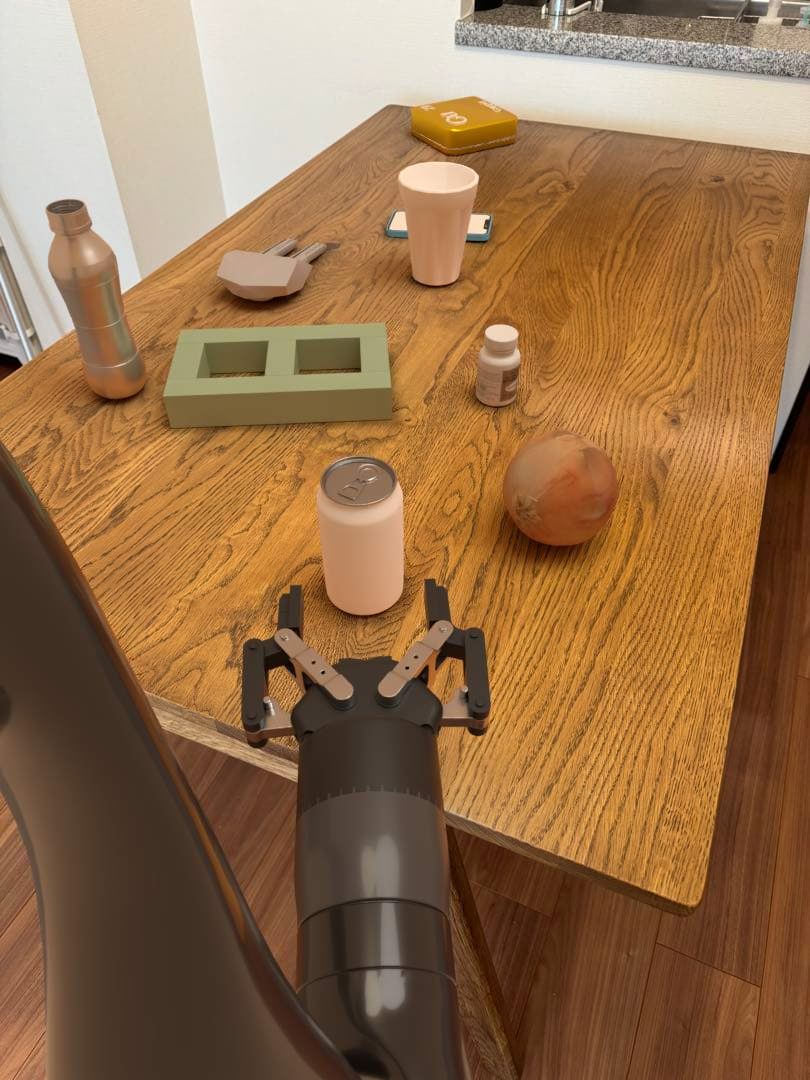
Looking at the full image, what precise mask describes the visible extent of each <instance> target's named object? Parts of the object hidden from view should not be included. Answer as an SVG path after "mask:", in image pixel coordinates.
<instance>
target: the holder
mask: <svg viewBox="0 0 810 1080" xmlns="http://www.w3.org/2000/svg"><path fill="white" fill-rule="evenodd" d="M176 341H177V342H176V346H175V348H174V353H173V356H172V360H171V364H170V367H169V372H168V375H167V378H166V382H165V386H164V390H163V393H162V400H163V403H164V407H165V411H166V415H167V419H168V423H169V426H170V428H171V429H187V428H210V427H211V428H212V427H213V428H214V427H235V426H236V427H237V426H260V425H283V424H285V425H286V424H288V425H289V424H309V423H335V422H338V423H339V422H358V421H359V422H361V421H382V420H383V421H386V420H387V421H388V420H393V399H392V398H393V397H392V395H393V394H392V390H393V389H392V377H391V368H390V367H391V366H390V358H389V357H390V356H389V346H388V335H387V323H386V322H367V323H366V322H365V323H364V322H363V323H335V324H308V325H307V324H306V325H304V324H303V325H280V326H275V325H274V326H251V327H250V326H249V327H248V326H247V327H223V328H222V327H219V328H193V329H192V328H191V329H190V328H189V329H180V331H179V335H178V338H177V340H176ZM342 369H343V370H345V369H346V370H347V369H360V372H339V373H338V372H337V373H336V372H335V373H310V374H308V373H307V374H300V372H301V371H317V370H342ZM260 372H261V373H263V372H264V375H258V376H256V375H255V376H229V377H211V375H212V374H239V373H241V374H242V373H260Z"/></svg>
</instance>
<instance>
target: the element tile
mask: <svg viewBox="0 0 810 1080" xmlns="http://www.w3.org/2000/svg"><path fill="white" fill-rule="evenodd" d="M410 118H411V119H410V132H411V135H412V136H413V137H415V138H417V139H419V140H421V141H422V142H423V143H425V144H428V145H429V146H431V147H432V148H434V149H436V150H438V151H439V152H441V153H442V154H445V155H446V156H455V157H456V156H463V155H466V154H471V153H478V152H481V151H486V150H490V149H495V148H500V147H504V146H509V145H512V144H514V143H515V142H516V139H517V136H516V137H515V138H513V139H509V140H505V141H500V142H495V143H491V144H486V145H481V146H477V147H472V148H467V149H462V150H447V149H444V148H442V147H441V146H439V145H437V144H435V143H434V142H432V141H430V140H428V139H427V138H429V139H431V140H433V141H435V142H437V143H439V144H441V145H442V146H444V147H447V148H453V149H454V148H462V147H467V146H471V145H477V144H481V143H485V142H489V141H493V140H497V139H501V138H504V137H508V136H512V135H515V134H516V135H517V130H518V120H519V117H518V116H517V115H516V114H514V113H513V112H511V111H508V110H506V109H504V108H502V107H500V106H498V105H496V104H493V103H492V102H490V101H487V100H486V99H483V98H481V97H479V96H476V95H470V96H465V97H460V98H454V99H448V100H443V101H439V102H438V101H437V102H433V103H427V104H422V105H416V106H413V107H412V108H411V111H410ZM411 128H412V129H411ZM413 130H414V131H416V132H417V133H416V132H414V131H413ZM418 133H419V134H418ZM420 134H422V135H424V136H425V137H427V138H425V137H423V136H421V135H420Z"/></svg>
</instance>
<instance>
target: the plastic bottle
mask: <svg viewBox="0 0 810 1080" xmlns="http://www.w3.org/2000/svg"><path fill="white" fill-rule="evenodd" d="M44 210H45V214H46V217H47V220H48V226H49V229H50V231H51V232H52V233H53V234H54V236H53V239H52V240H51V244H50V247H49V250H48V255H47V267H48V270H49V273H50V276H51V278H52V279H53V282H54V284H55V286H56V288H57V290H58V292H59V294H60V296H61V298H62V300H63V302H64V304H65V306H66V309H67V312H68V314H69V316H70V318H71V322H72V324H73V327H74V329H75V334H76V338H77V342H78V346H79V350H80V355H81V356H80V359H81V360H80V361H81V368H82V373H83V377H84V379H85V381H86V382H87V384H88V387H89V388H90V389H91V391H93V392H94V393H95V394H97V395H98V396H100V397H102V398H104V399H109V400H120V399H125V398H128V397H129V398H130V397H132V396H134V395H136V394H138V393H139V392H140V391H141V390H142V389H143V387H144V385H145V384H146V381H147V378H148V377H147V376H148V375H147V363H146V361H145V359H144V356H143V354H142V351H141V349H140V348H139V346H138V345H137V343H136V340H135V337H134V334H133V332H132V329H131V327H130V324H129V321H128V318H127V312H126V310H125V304H124V299H123V295H122V288H121V279H120V271H119V263H118V258H117V256H116V254H115V251H114V250H113V248H112V247H111V246H110V245H109V244H108V243H107V242H106V241H105V239H103V238H102V237H101V236H100V235H99V234H98V233H96V232H95V231H94V230H93V229H92V226H93V221H92V218H91V217H90V215H89V211H88V208H87V205H86V203H85V201H83V200H81V199H76V198H65V199H59V200H54V201H52V202H50V203H48V204H47V205H45V209H44Z"/></svg>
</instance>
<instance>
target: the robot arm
mask: <svg viewBox="0 0 810 1080" xmlns="http://www.w3.org/2000/svg"><path fill="white" fill-rule="evenodd" d="M423 599H424V600H423V602H424V603H423V604H424V612H425V613H424V614H425V622H426V632H427V633H426V634H425V635H423V637H422V638H421V640H420V641H419V640H416V641H415V642H414V643H413V645H412V646H411V647H410V648H409V650H408V651H407V652H405V654H404V655H403V657H402V658H401V659H400V661H398V660H396V659H393V656H392V655H382V656H376V657H372V658H368V659H360V658H354V657H344V658H338V662H335V663H333V664H330V663H329V662H328V661H327V660H326V659H325V658H324V657H323V656H322V655H321V654H320V653H319V652H318V651H317V650H316V649H315V648H314V646H308V645H307V644H306V643H305V642H304V628H305V627H304V626H305V598H304V592H303V585H302V584H290V585H289V592H288V593H285V592H284V593H282V594H281V596H280V598H279V599H278V608H277V609H278V611H277V625H276V631H275V633H274V634H273V635H272V636H270V637H269V638H265V639H264V640H261V639H260V638H257V637H253V638H249V639H247V640H246V641H245V642H244V643H243V645H242V667H241V668H242V670H241V671H242V672H241V699H240V700H241V702H240V703H241V705H240V720H241V724H242V726H243V727H242V728H243V731H244V734H245V738H246V741H247V744H248V746H249V747H250V748H252V749H255V750H257V749H262V748H264V747H265V746H266V745H267V744H268V743H269V740H270V739H276V738H284V737H294V738H295V740H296V741H297V744H298V758H297V759H298V760H297V784H296V811H295V834H294V835H295V838H294V839H295V840H294V863H293V887H294V889H293V890H294V898H295V909H296V921H297V922H296V925H297V926H296V930H297V933H296V961H295V985H294V987H295V989H294V987H293V986H292V985H291V983H290V981H289V980H288V978H287V977H286V975H285V973H284V972H283V970H282V968H281V967H280V965H279V964H278V961H277V960H276V959H275V956H274V953H273V952H272V950H271V948H270V947H269V944H268V943H267V940H266V939H265V937H264V935H263V933H262V931H261V929H260V927H259V925H258V923H257V921H256V918H255V916H254V914H253V912H252V910H251V908H250V906H249V904H248V901H247V899H246V896H245V894H244V892H243V890H242V888H241V886H240V884H239V881H238V880H237V878H236V875H235V873H234V871H233V869H232V866H231V864H230V862H229V860H228V858H227V856H226V854H225V852H224V850H223V847H222V846H221V844H220V841H219V840H218V837H217V835H216V833H215V831H214V829H213V827H212V824H211V823H210V821H209V818H208V816H207V814H206V812H205V810H204V808H203V806H202V804H201V802H200V800H199V798H198V795H197V793H196V791H195V789H194V787H193V785H192V782H191V781H190V779H189V777H188V775H187V773H186V771H185V769H184V767H183V765H182V763H181V762H180V759H179V757H178V755H177V753H176V752H175V750H174V747H173V746H172V744H171V742H170V740H169V738H168V736H167V734H166V732H165V730H164V729H163V726H162V725H161V722H160V720H159V719H158V718H159V717H158V716H157V715H156V713H155V710H154V709H153V707H152V704H151V703H150V701H149V698H148V697H147V694H146V693H145V690H144V689H143V687H142V685H141V683H140V681H139V679H138V676H137V675H136V673H135V671H134V669H133V666H131V663H130V661H129V659H128V657H127V655H126V653H125V652H124V650H123V648H122V645H121V643H120V641H119V640H118V637H117V636H116V634H115V632H114V630H113V628H112V626H111V624H110V622H109V620H108V618H107V616H106V613H105V612H104V610H103V608H102V606H101V604H100V602H99V600H98V598H97V597H96V593H94V591H93V588H92V587H91V585H90V583H89V581H88V580H87V578H86V576H85V574H84V572H83V570H82V568H81V566H80V565H79V563H78V561H77V559H76V558H75V556H74V554H73V552H72V551H71V549H70V547H69V546H68V544H67V541H66V540H65V538H64V537H63V535H62V533H61V531H60V530H59V528H58V527H57V524H56V523H55V521H54V520H53V517H52V515H51V514H50V512H49V511H48V509H47V507H46V506H45V505H44V503H43V501H42V499H41V497H39V495H38V493H37V492H36V490H35V489H34V487H33V485H32V484H31V482H30V480H29V479H28V478H27V476H26V474H25V473H24V472H23V470H22V468H21V467H20V465H19V464H18V462H17V460H16V459H15V457H14V456H13V454H12V453H11V452H10V450H9V449H8V447H7V446H6V445H5V443H4V442H3V441H2V439H1V438H0V794H1V795H2V797H3V799H4V801H5V803H6V805H7V807H8V809H9V811H10V813H11V815H12V817H13V819H14V822H15V823H16V826H17V829H18V831H19V834H20V838H21V840H22V843H23V845H24V848H25V851H26V854H27V858H28V863H29V867H30V871H31V874H32V875H31V876H32V878H33V882H34V889H35V897H36V905H37V912H38V921H39V929H40V937H41V945H42V959H43V961H42V962H43V982H44V983H43V984H44V1003H45V1004H44V1009H45V1010H44V1011H45V1012H44V1013H45V1015H44V1018H45V1019H44V1020H45V1021H44V1023H45V1024H44V1025H45V1030H44V1031H45V1033H44V1034H45V1035H44V1036H45V1038H44V1039H45V1040H44V1041H45V1044H44V1045H45V1049H44V1050H45V1057H44V1058H45V1059H44V1060H45V1080H475V1077H474V1073H473V1069H472V1065H471V1062H470V1058H469V1057H470V1056H469V1053H468V1050H467V1046H466V1045H467V1044H466V1041H465V1037H464V1030H463V1026H462V1021H461V1012H460V1006H459V998H458V987H457V976H456V969H455V968H456V965H455V955H454V947H453V945H454V944H453V935H452V927H451V911H450V903H451V902H450V897H451V896H450V895H451V862H450V853H449V842H448V841H449V840H448V834H447V826H446V814H445V803H444V795H443V783H442V775H441V765H440V756H439V747H438V736H439V733H440V732H441V730H442V728H466V729H467V732H468V733H469V734H470V735H471V736H474V737H482V736H484V735H486V734H487V732H488V730H489V723H490V716H491V715H490V714H491V707H492V702H491V700H492V699H491V690H490V689H491V688H490V679H489V669H488V658H487V648H486V647H487V645H486V637H485V636H486V635H485V631H483V630H482V628H479V627H476V626H471V627H469V628H467V629H461V628H458V627H457V626H455V624H454V623H453V622H452V615H451V608H450V601H449V593H448V590H447V589H446V588H445V586H444V585H437V580H436V578H424V579H423ZM449 659H454V660H460V661H462V674H463V675H462V677H463V685H461V686H460V687H457V688H456V689H455V690H454V691H453V694H452V698H451V700H450V701H449V702H447V703H442V701H441V699H440V698H439V697H438V696H437V695H436V694H435V693H434V692H433V691H432V689H431V687H432V686H433V684H434V682H435V680H436V677H437V675H438V674H439V672H440V671H441V670H442V668H443V667H444V666H445V665H446V663H448V661H449ZM280 667H281V668H282V669H283V670H284V671H285V672H286V673H287V675H289V677H290V678H291V679H292V680H293V681H294V682H295V683H296V685H297V686H298V689H299V691H300V692H301V694H303V695H302V696H301V698H300V699H299V700H298V701H297V702H296V703H295V705H294V706H293V708H292V710H291V712H286V711H284V710H283V709H282V708H281V705H280V702H279V700H277V699H276V698H274V697H272V696H270V671H272V670H274V669H277V668H280Z"/></svg>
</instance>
